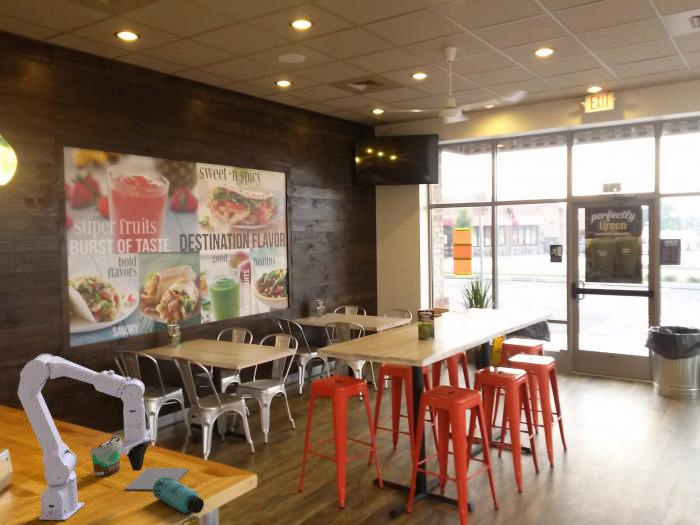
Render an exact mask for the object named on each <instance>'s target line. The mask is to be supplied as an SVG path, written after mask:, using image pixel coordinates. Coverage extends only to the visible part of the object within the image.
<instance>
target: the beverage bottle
mask: <svg viewBox="0 0 700 525" xmlns="http://www.w3.org/2000/svg"><path fill="white" fill-rule="evenodd" d="M152 493H153V496H154V498H156V499H157V500H159V501H161V502H162V503H164V504H167V505H168V506H170V507H172V508H174V509H176V510H178V511H180V512H181V513H184V514H188V513H193V514H199V513H201V511H203V508H204V506H205V501H204V500H203V499H202V498H201V497H199V496H200V495H199V493H198V492H197V490H195V489H193V488H190V486H189V487H188V486H187V485H186V484H183V483H182V482H180V481H178V482H177V481H175V480H173V479H171V478H170V477H165V476H164V477H161V478H159V479H158V480H157V481H156V482H155V483H154V486H153V491H152Z"/></svg>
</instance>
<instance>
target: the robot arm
mask: <svg viewBox="0 0 700 525" xmlns="http://www.w3.org/2000/svg"><path fill="white" fill-rule="evenodd" d="M19 375H20V379H19V384H18V388H17V390H18V391H17V396H18V398H19V401H20V402H21V406H22V408H23V409H24V413H25V414H26V416H27V418H28V421H29V423H30V425H31V428H32V430H33V432H34V435H35V436H36V440H37V441H38V444H39V446H40V448H41V450H42V453H43V455H42V457H43V458H42V463H43V466H44V468H45V469H44V477H45V479H46V481H47V484H46V488H45V489H44V491H43V492H42V494H41V495H40V507H41V508H40V509H41V515H40V516H39V517H38V519H39V520H41V521H43V520H45V521H48V520H49V521H66V520H68V519H69V518H71V517H72V516H73V515H74V514H75V513H76V512H78V511H79V510H80V509H81V508H82V507H83V506H85V502H78V501H79V500H78V485H77V483H78V482H77V473H76V472H75V470H74V469H75V468H76V466H77V464H78V458H77V455H76V454H75V453H74V452H72V450H70V448H69V446H68V444H66V443H65V442H64V441H63V440H62V438H61V435H60V434H59V431H58V428H57V426H56V424H55V422H54V419H53V417H52V415H51V413H50V410H49V408H48V406H47V403H46V401H45V398H44V397H43V395H42V392H41V391H42V389H43V388H44V386H45V384H46V382H47V380H52V379H56V378H57V379H58V378H61V377H67V378H70V379H73V380H77V381H82V382H84V383H87V384H92V385H93V386H94V388H95V390H96V391H98V392H101V393H104V394H106V395H108V396H109V395H110V396H113V397H115V398H120V399H121V401H122V402H123V410H122V411H123V412H122V413H123V428H124V430H123V431H124V439H123V441H122V446H121V447H120V455H126V456H127V458H128V461H129V463H130V466H131V469H132V471H133V472H135V471H136V472H139V471H141V470H142V469H143V465H144V460H145V455H146V451H147V449H148V447H149V442H150V440H151V429H147V427H146V426H147V425H146V409H145V408H146V407H145V398H144V393H145V390H146V389H145V388H146V387H145V384H144V382H143V381H141V380H140V379H138V378H135V377H134V378H131V377H130V376H127V377H125V376H122V375H119V374H116V373H115V371H114V370H111V369H109V370H108V371H107V370H103V371H100V372H97V371H94V370H92V369H89V368H87V367H85V366H82V365H80V364H77V363H75V362H72V361H70V360H67V359H65V358H63V357H61V356H57V355H55V356H54V355H53V354H50V353H41V354H39V355H37V356H36V357H35V358H34V359H32V360H30V361H28V362H27V363H26V364H25V365H24V367H22V369H21V371H20V373H19Z"/></svg>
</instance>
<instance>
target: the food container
mask: <svg viewBox="0 0 700 525" xmlns="http://www.w3.org/2000/svg"><path fill="white" fill-rule="evenodd" d="M111 436H112V437H111V438H109V440H107V441H106V440H105V441H104V442H102V443H100V444H99V445H98V446H96V447H93V446H92V447H90V451H89V452H90V453H89V455H91V460H92V467H93V475H94V476H93V477H94V478H104V477H109V476H113V475H115V474H117V473H118V472H119V471H120V468H121V467H120V466H121V464H120V463H121V454H120V447H121V446H122V444H123V440H122V439H121V437H120V436H119V435H115V434H114V435H113V434H112V435H111ZM116 472H117V473H116Z"/></svg>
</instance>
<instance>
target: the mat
mask: <svg viewBox="0 0 700 525" xmlns="http://www.w3.org/2000/svg"><path fill="white" fill-rule="evenodd" d="M189 471H190V468H189V467H187V468H185V467H184V468H180V467H178V468H177V467H147V468H146V469H145V470H143V471H142V473H141V472H140V474H139V475H138V476H137V477H136V478H135V479H134V480H132V482H130V483H129V484H128V485H127V486H126V487H125V488H124V491H140V490H153V486H154V483H155V482H156V481H157V480H158V479H159V478H161V477H164V476H165V477H170V478H171V479H173V480H175V481H177V482H180V480H181V479H182V478H183V477H184V476H185V475H186V474H187V473H188V472H189ZM186 472H187V473H186Z"/></svg>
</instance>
